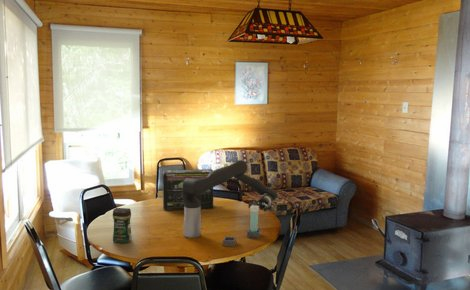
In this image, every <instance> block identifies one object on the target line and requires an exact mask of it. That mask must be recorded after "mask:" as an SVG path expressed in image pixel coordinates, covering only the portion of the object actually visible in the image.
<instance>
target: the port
mask: <svg viewBox="0 0 470 290" xmlns="http://www.w3.org/2000/svg"><path fill="white" fill-rule="evenodd" d="M246 233H247V234H246V238H248V239H260V238H261V228H260V227H258V232H254V231H250V227H248V229H247V232H246Z"/></svg>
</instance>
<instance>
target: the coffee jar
mask: <svg viewBox="0 0 470 290" xmlns="http://www.w3.org/2000/svg"><path fill="white" fill-rule="evenodd" d="M131 211H132V210H131V208H124V207H115V208H113V210H112V219H113V234H112V241H113V242H114V243H117V244H118V243H119V244H126V243H129V242H131V241H132V238H133V237H132V230H131V217H132V212H131Z"/></svg>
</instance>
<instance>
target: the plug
mask: <svg viewBox="0 0 470 290" xmlns="http://www.w3.org/2000/svg"><path fill="white" fill-rule="evenodd" d="M252 202H253V205H252V206H251V207H250V208H249V212H250V214H249V215H250V220H249V222H250V224H249V226H250V227H249V228H250V231H254V232H258V228H259V210H260V209H259V206H256V203H257V201H256V200H253V201H252Z"/></svg>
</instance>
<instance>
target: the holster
mask: <svg viewBox="0 0 470 290" xmlns="http://www.w3.org/2000/svg"><path fill="white" fill-rule="evenodd" d="M236 243H237V237H236V236H225V235H224V237H223V239H222V247H233V248H234V247H235V246H236Z"/></svg>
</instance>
